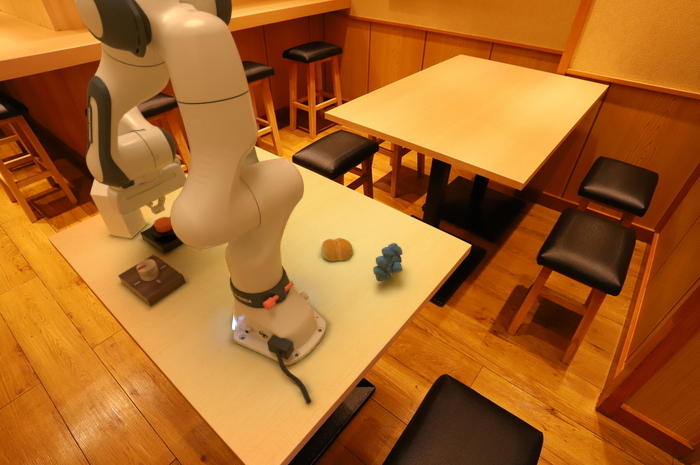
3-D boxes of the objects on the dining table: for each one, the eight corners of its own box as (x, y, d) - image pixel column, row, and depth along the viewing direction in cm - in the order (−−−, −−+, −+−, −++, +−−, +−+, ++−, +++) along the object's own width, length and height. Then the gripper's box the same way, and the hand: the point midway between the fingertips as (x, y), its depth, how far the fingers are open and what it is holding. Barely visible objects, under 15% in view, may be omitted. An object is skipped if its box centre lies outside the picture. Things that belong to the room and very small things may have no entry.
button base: (194, 236, 113) (190, 225, 110) (164, 254, 106) (159, 242, 103) (172, 223, 117) (168, 211, 115) (143, 239, 111) (137, 227, 108)
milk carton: (132, 239, 111) (106, 184, 99) (111, 235, 112) (83, 181, 100) (146, 224, 117) (124, 171, 105) (126, 221, 118) (102, 168, 106)
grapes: (387, 299, 95) (391, 265, 87) (366, 286, 98) (368, 253, 91) (411, 273, 102) (417, 240, 94) (390, 262, 105) (394, 229, 98)
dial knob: (153, 266, 98) (148, 256, 96) (163, 274, 96) (158, 263, 94) (137, 276, 96) (132, 265, 93) (147, 283, 94) (141, 273, 91)
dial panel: (185, 282, 98) (182, 274, 96) (150, 306, 92) (146, 298, 90) (157, 262, 104) (153, 253, 102) (122, 283, 98) (117, 275, 96)
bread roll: (354, 260, 106) (354, 250, 103) (322, 263, 105) (322, 253, 102) (349, 241, 112) (350, 231, 109) (320, 244, 111) (319, 234, 108)
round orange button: (177, 226, 110) (175, 220, 108) (162, 234, 107) (160, 229, 105) (167, 220, 112) (165, 214, 110) (152, 228, 109) (150, 222, 107)
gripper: (170, 150, 105) (184, 191, 113) (96, 180, 92) (118, 225, 100) (184, 156, 102) (197, 198, 110) (110, 188, 89) (131, 233, 98)
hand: (159, 211), depth 105 cm, fingers closed
